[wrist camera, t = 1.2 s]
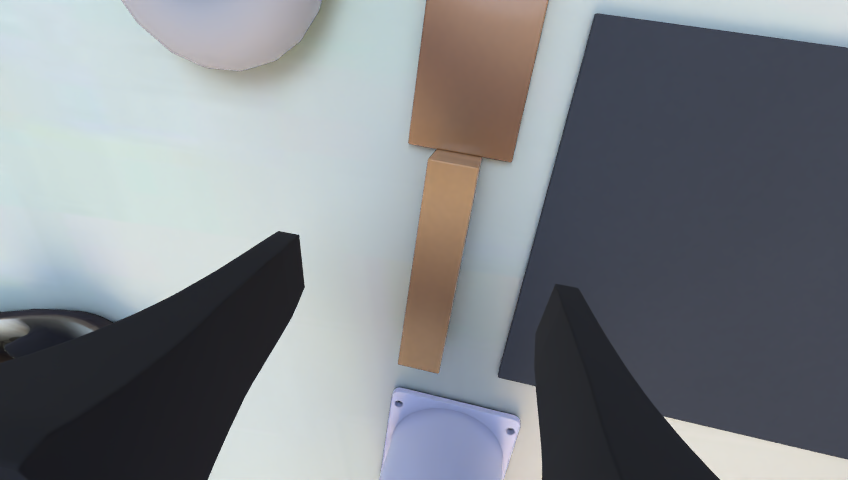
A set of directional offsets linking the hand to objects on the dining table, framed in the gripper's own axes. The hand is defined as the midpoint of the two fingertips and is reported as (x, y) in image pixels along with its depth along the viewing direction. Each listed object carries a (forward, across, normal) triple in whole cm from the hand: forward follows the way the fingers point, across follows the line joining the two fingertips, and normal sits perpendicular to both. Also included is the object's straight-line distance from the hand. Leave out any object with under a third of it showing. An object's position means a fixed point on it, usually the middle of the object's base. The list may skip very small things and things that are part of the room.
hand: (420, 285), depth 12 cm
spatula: (+10, 0, +2) cm, 10 cm away
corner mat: (+9, -15, +3) cm, 18 cm away
